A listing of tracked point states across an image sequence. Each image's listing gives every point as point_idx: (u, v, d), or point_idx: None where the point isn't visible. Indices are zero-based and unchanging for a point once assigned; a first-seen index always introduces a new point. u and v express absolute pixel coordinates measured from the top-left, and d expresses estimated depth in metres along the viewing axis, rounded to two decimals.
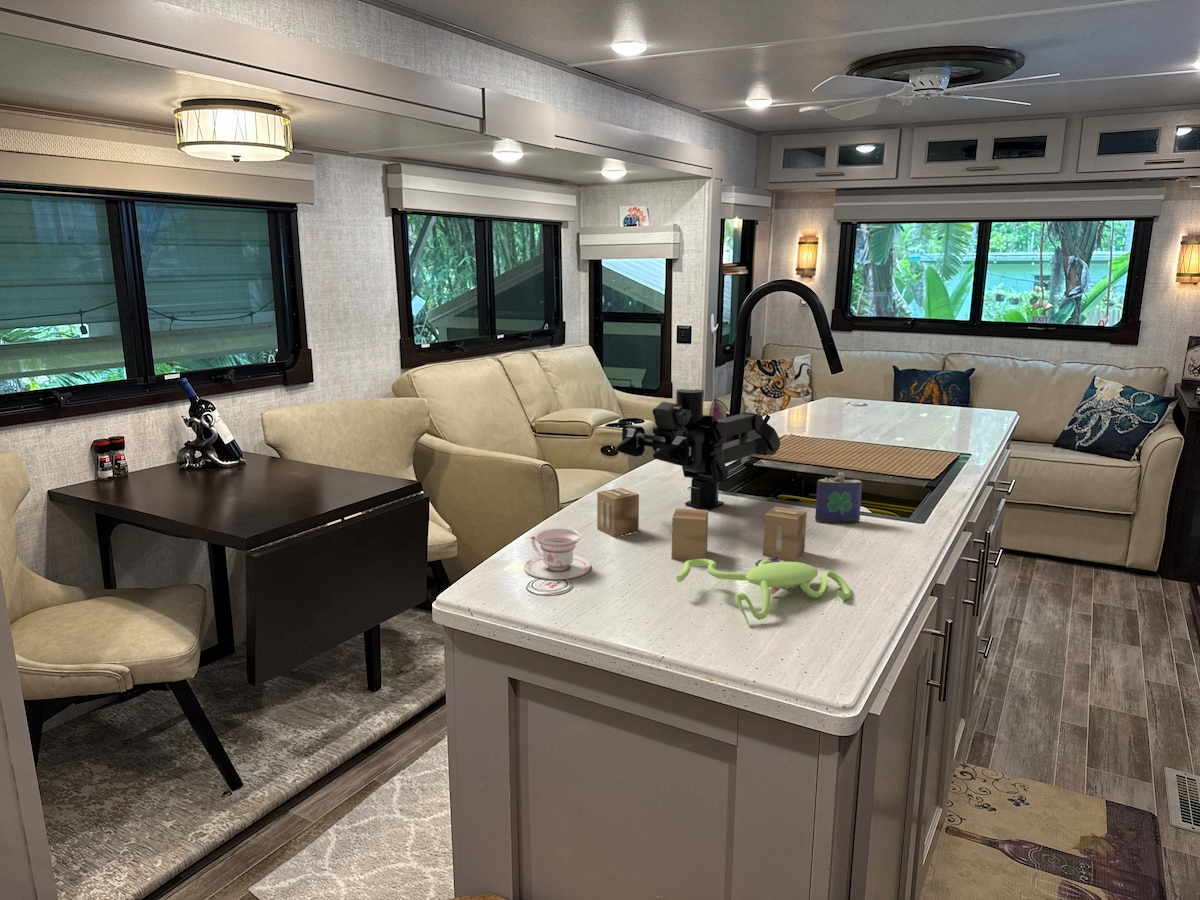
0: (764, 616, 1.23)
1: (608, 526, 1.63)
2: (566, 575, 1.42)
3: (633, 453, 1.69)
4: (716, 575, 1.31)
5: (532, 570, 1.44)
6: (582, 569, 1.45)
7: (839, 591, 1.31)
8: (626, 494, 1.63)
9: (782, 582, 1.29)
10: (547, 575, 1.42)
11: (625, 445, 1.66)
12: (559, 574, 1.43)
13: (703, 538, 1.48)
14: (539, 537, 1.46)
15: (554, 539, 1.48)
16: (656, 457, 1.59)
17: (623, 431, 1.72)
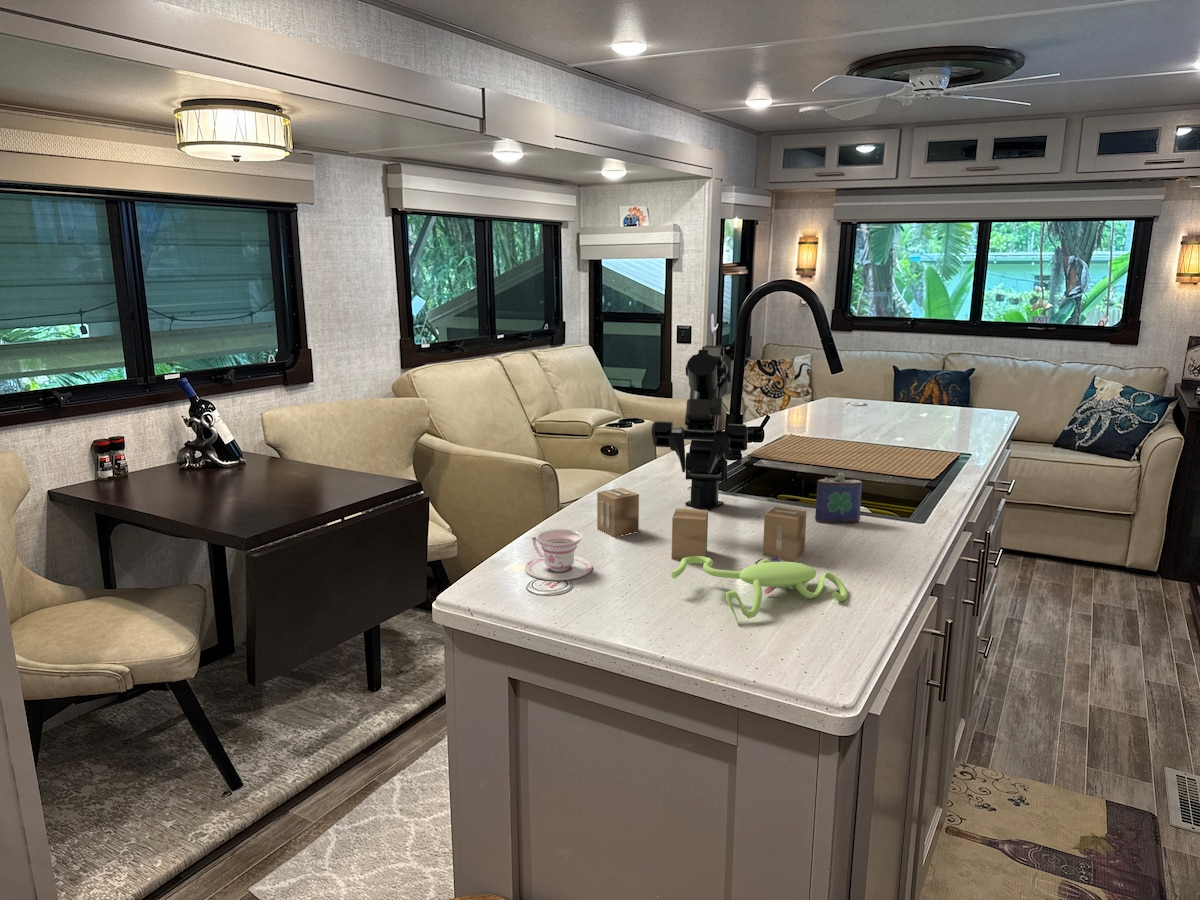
0: (753, 614, 1.23)
1: (608, 526, 1.63)
2: (567, 576, 1.42)
3: None
4: (710, 572, 1.31)
5: (533, 571, 1.44)
6: (583, 570, 1.44)
7: (834, 592, 1.30)
8: (626, 494, 1.63)
9: (776, 581, 1.29)
10: (548, 576, 1.42)
11: (684, 459, 1.59)
12: (560, 575, 1.42)
13: (703, 538, 1.48)
14: (540, 538, 1.45)
15: (555, 540, 1.47)
16: (710, 471, 1.58)
17: (653, 433, 1.62)
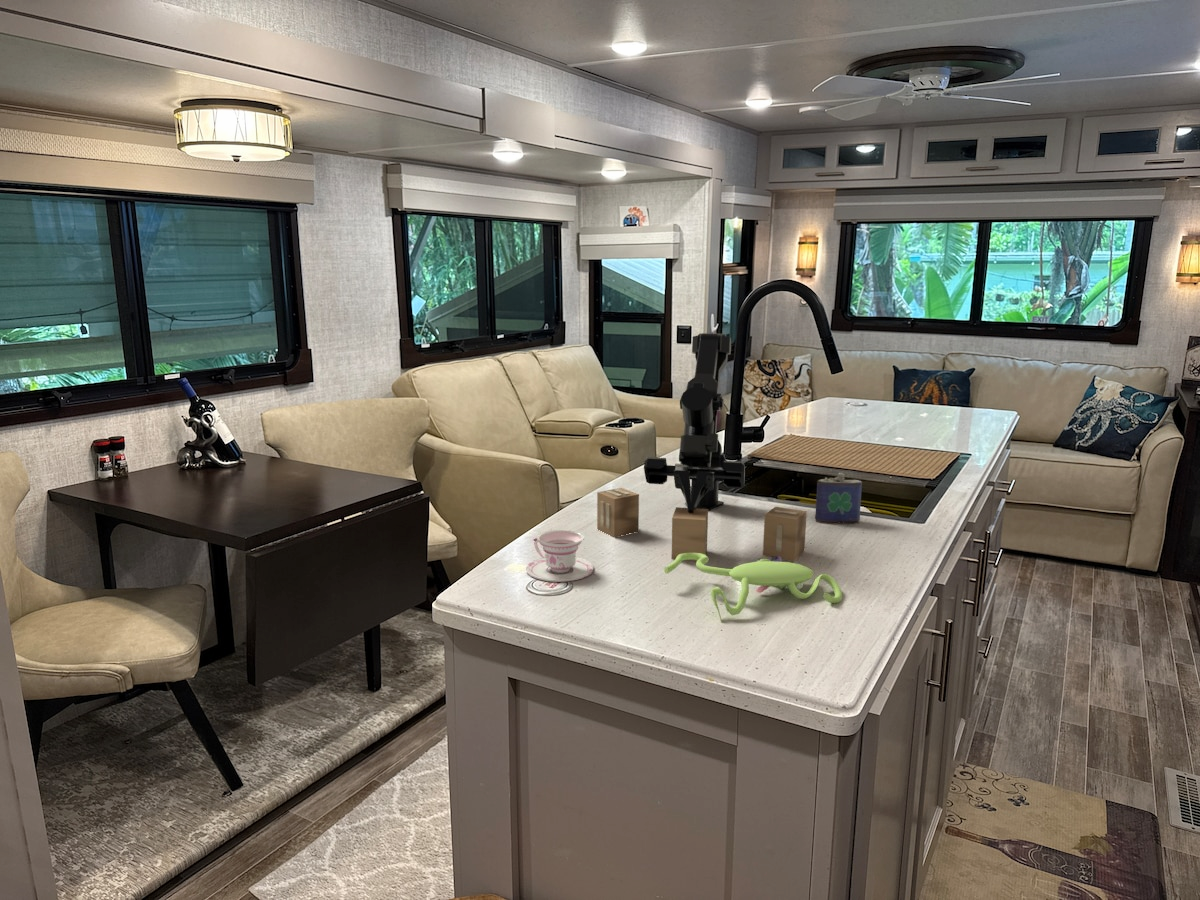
0: (737, 612, 1.24)
1: (608, 526, 1.63)
2: (568, 577, 1.41)
3: None
4: (702, 569, 1.33)
5: (534, 572, 1.43)
6: (585, 571, 1.44)
7: (826, 594, 1.30)
8: (626, 494, 1.63)
9: (765, 580, 1.29)
10: (549, 577, 1.41)
11: (690, 498, 1.51)
12: (561, 576, 1.42)
13: (703, 538, 1.48)
14: (541, 539, 1.45)
15: (557, 541, 1.47)
16: (693, 510, 1.51)
17: (645, 469, 1.54)
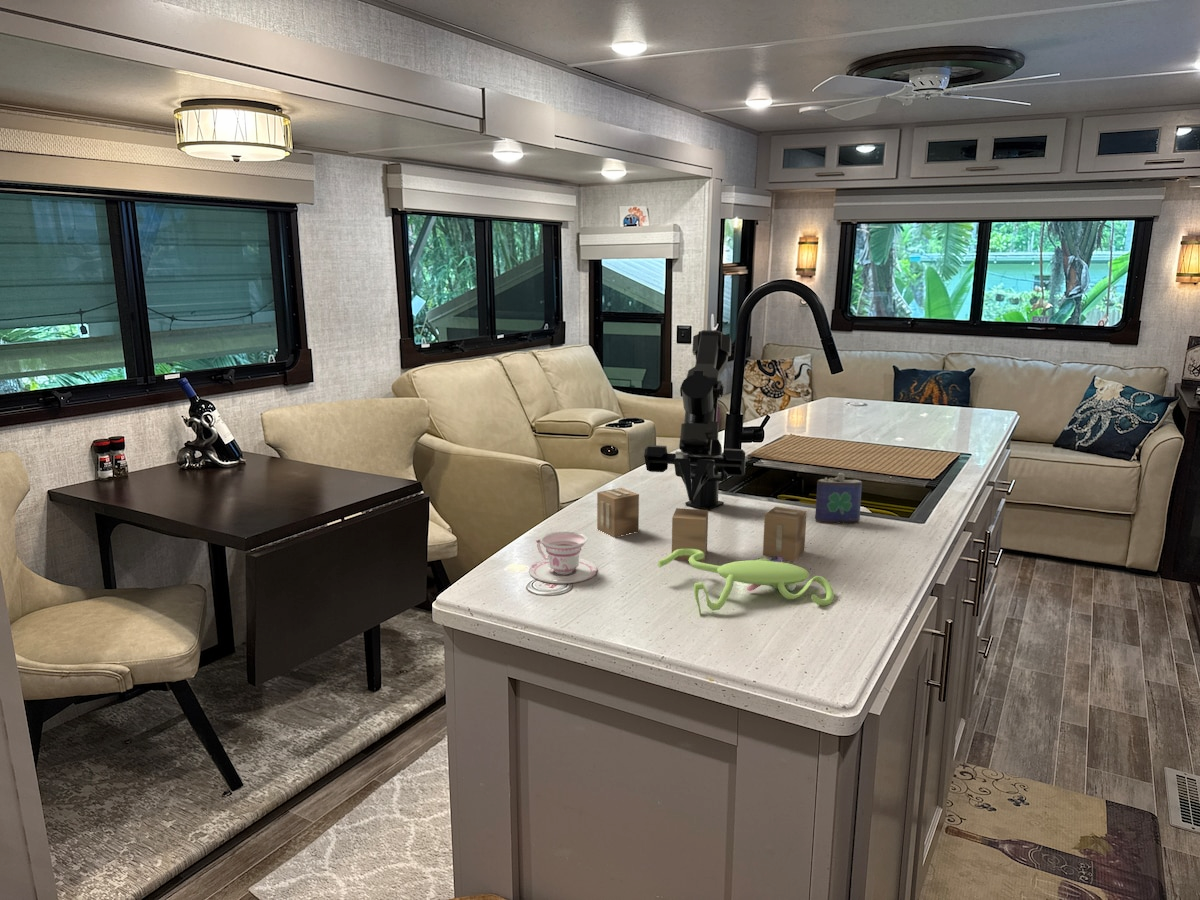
0: (717, 607, 1.26)
1: (608, 526, 1.63)
2: (572, 579, 1.40)
3: None
4: (692, 564, 1.35)
5: (537, 574, 1.43)
6: (588, 573, 1.43)
7: (814, 595, 1.29)
8: (626, 494, 1.63)
9: (752, 578, 1.30)
10: (553, 579, 1.40)
11: (691, 486, 1.51)
12: (564, 577, 1.41)
13: (703, 538, 1.48)
14: (544, 540, 1.44)
15: (559, 542, 1.46)
16: (694, 498, 1.51)
17: (646, 458, 1.54)
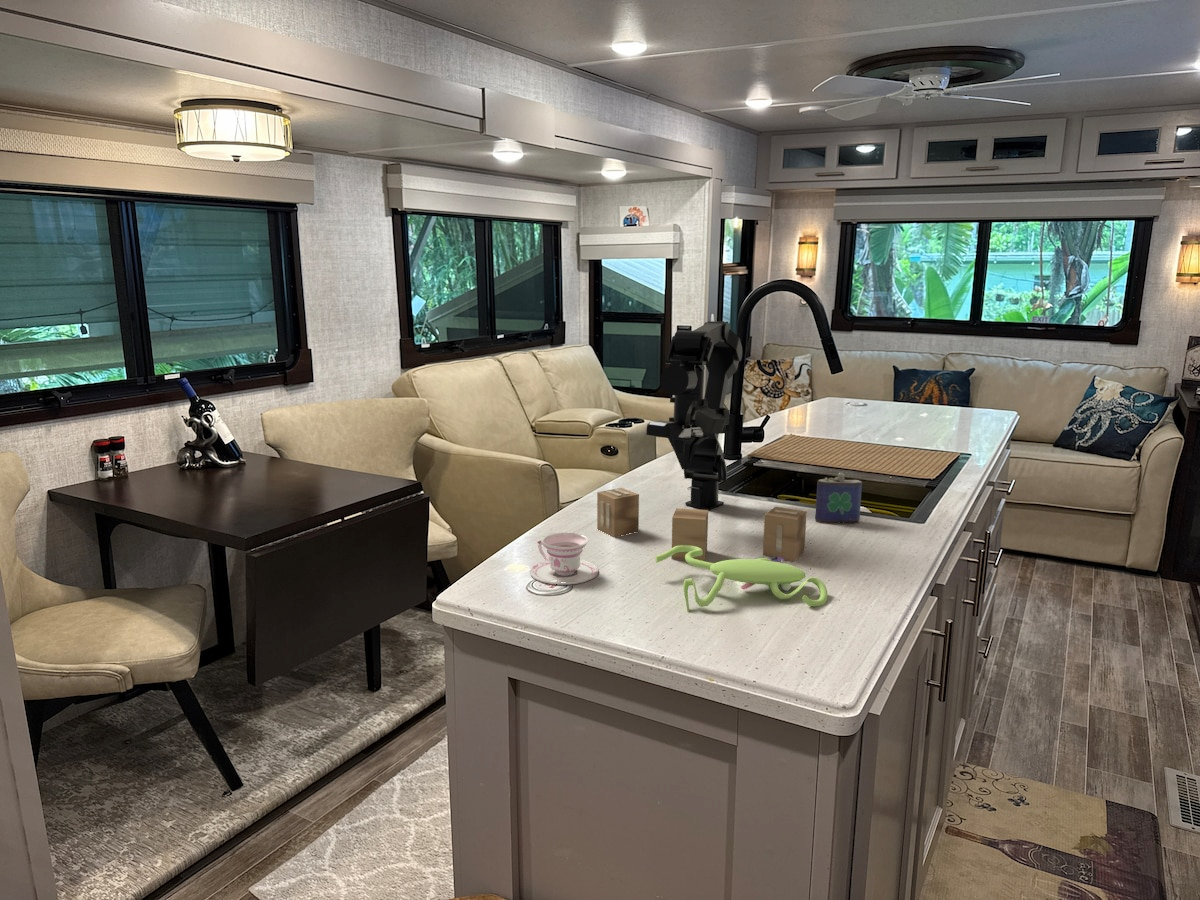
0: (705, 604, 1.27)
1: (608, 526, 1.63)
2: (573, 580, 1.40)
3: None
4: (687, 561, 1.37)
5: (538, 575, 1.42)
6: (589, 574, 1.42)
7: (805, 596, 1.29)
8: (626, 494, 1.63)
9: (744, 577, 1.31)
10: None
11: None
12: (566, 579, 1.40)
13: (703, 538, 1.48)
14: (546, 541, 1.44)
15: (561, 543, 1.45)
16: None
17: (664, 437, 1.59)
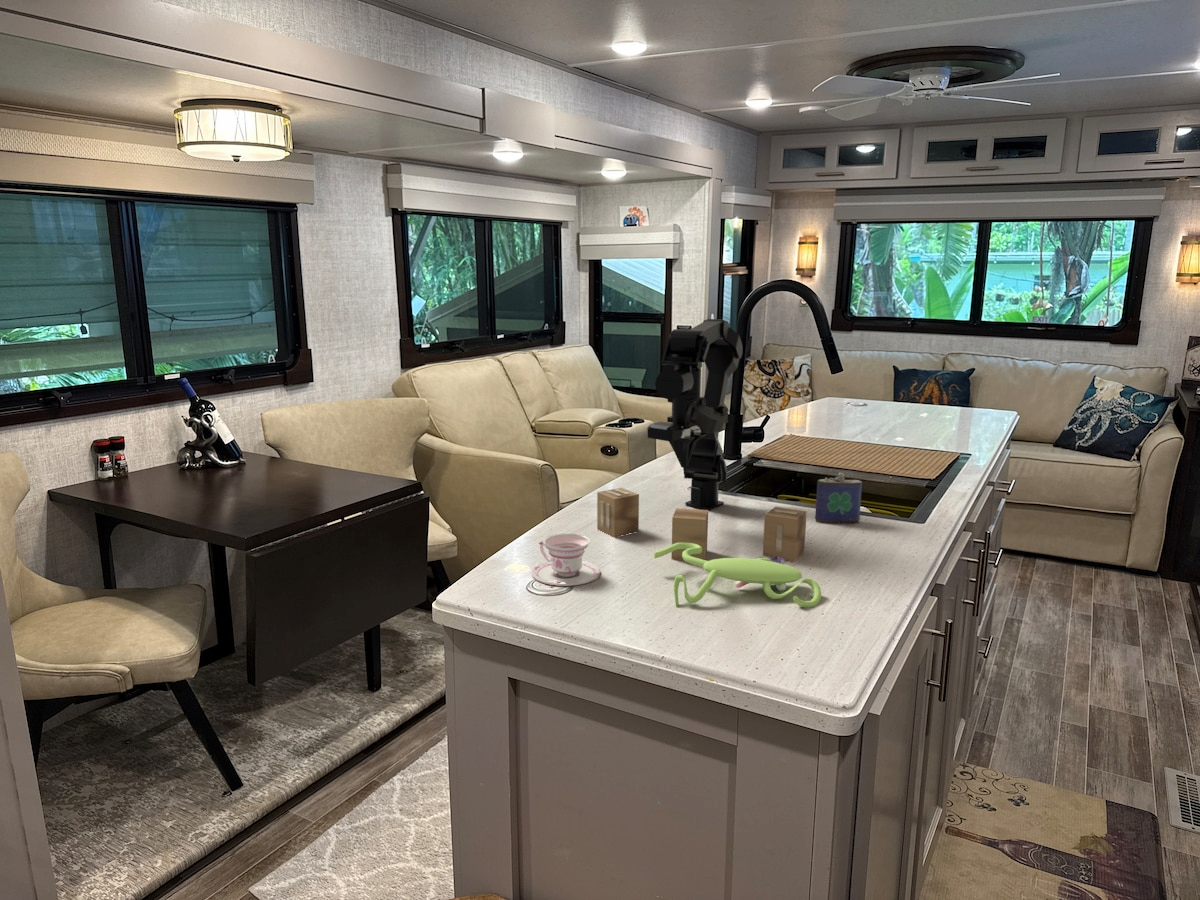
0: (693, 600, 1.29)
1: (608, 526, 1.63)
2: (575, 581, 1.39)
3: None
4: (683, 558, 1.38)
5: (540, 576, 1.41)
6: (591, 575, 1.42)
7: (795, 597, 1.29)
8: (626, 494, 1.63)
9: (735, 575, 1.32)
10: (555, 581, 1.39)
11: None
12: (567, 580, 1.40)
13: (703, 538, 1.48)
14: (547, 542, 1.43)
15: (563, 544, 1.45)
16: None
17: None
